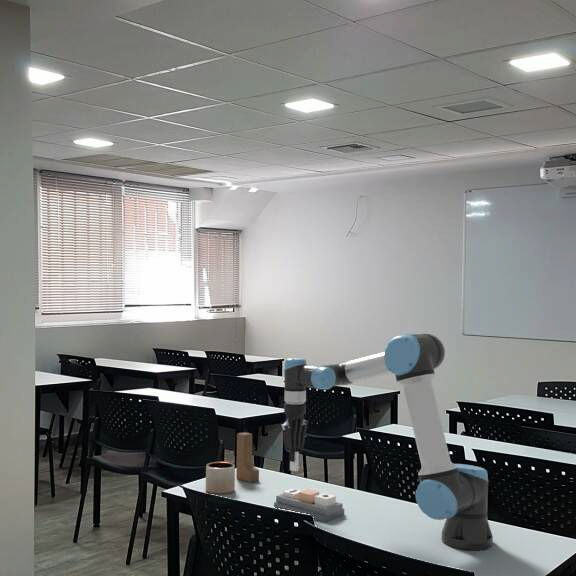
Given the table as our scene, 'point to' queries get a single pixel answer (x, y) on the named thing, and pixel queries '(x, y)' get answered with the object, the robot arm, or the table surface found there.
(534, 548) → the table surface
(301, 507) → the keypad
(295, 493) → the bar key
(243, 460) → the wooden block
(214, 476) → the planter
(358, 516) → the table surface
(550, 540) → the table surface
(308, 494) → the blank key
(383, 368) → the robot arm
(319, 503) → the dot key
